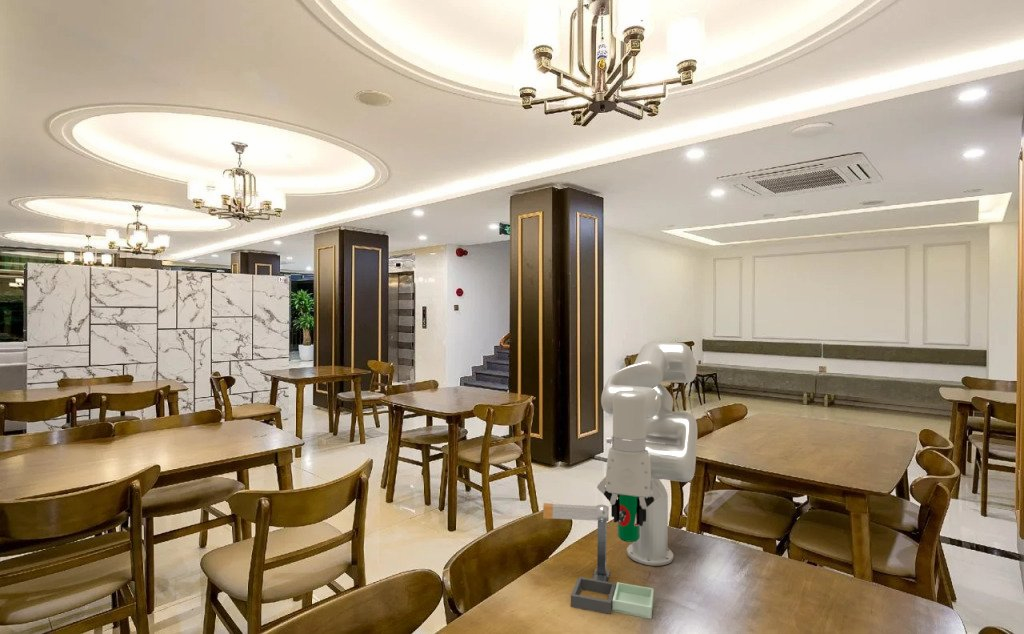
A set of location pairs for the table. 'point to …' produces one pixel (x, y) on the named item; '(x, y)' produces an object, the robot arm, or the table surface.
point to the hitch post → (601, 553)
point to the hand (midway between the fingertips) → (628, 521)
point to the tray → (633, 600)
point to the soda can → (628, 518)
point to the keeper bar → (576, 512)
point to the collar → (591, 602)
